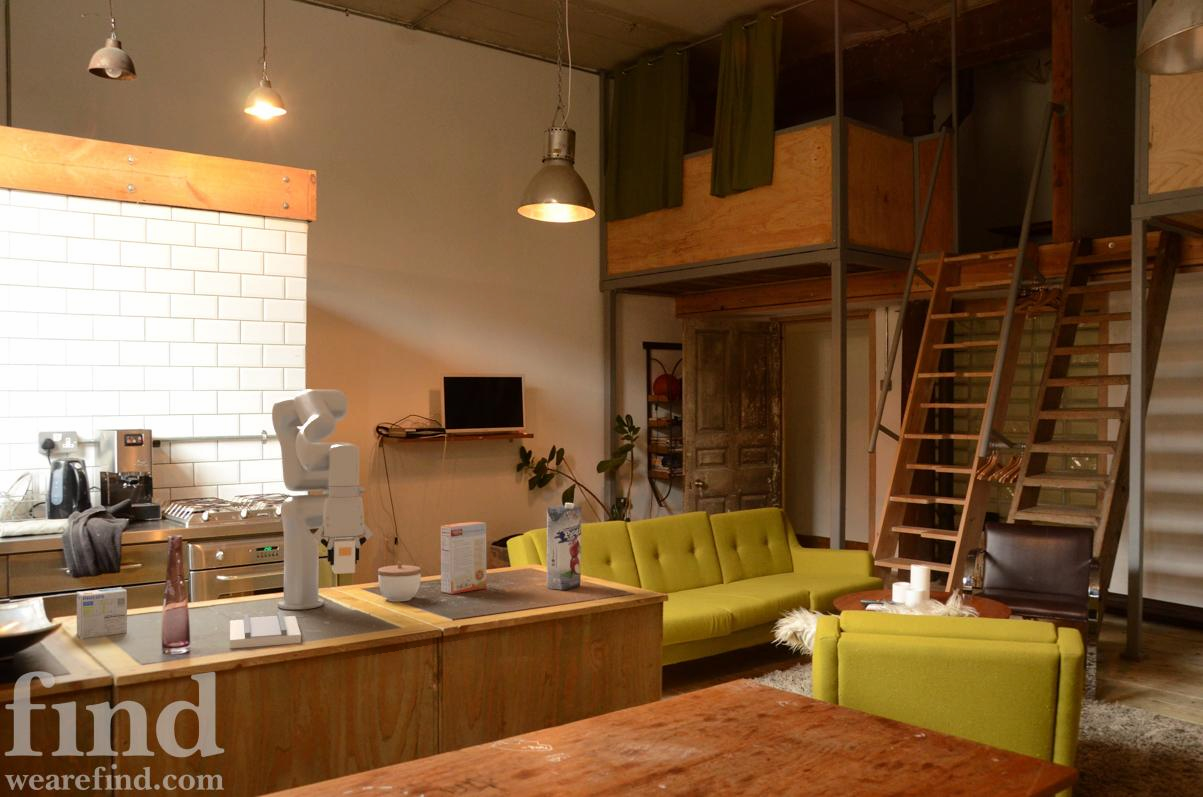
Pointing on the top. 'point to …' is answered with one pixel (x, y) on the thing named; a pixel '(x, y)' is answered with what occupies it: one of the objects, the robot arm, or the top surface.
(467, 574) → the cracker box
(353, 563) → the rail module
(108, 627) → the light bulb box
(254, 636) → the rail board
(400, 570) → the lidded bowl
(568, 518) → the juice carton
